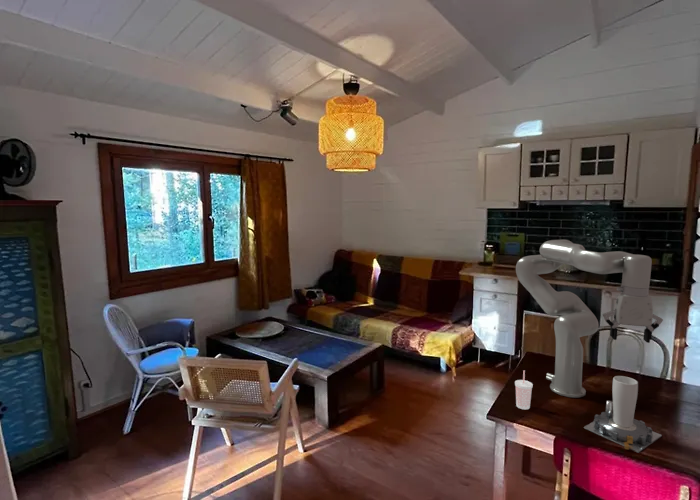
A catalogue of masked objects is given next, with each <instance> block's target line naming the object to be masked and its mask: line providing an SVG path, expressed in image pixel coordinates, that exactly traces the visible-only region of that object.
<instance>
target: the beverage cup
mask: <svg viewBox="0 0 700 500" xmlns="http://www.w3.org/2000/svg"><path fill="white" fill-rule="evenodd" d="M522 371H523V374H522V379H517V380H515V381H514V386H515V404H516V405H515V407H517V408H518V409H521V410H529V409H530V408H531V400H532V390H533V385H534V384H533V382H531V381H528V380H525V379H526V378H525V377H526V374H525V373H526V370H522Z"/></svg>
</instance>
